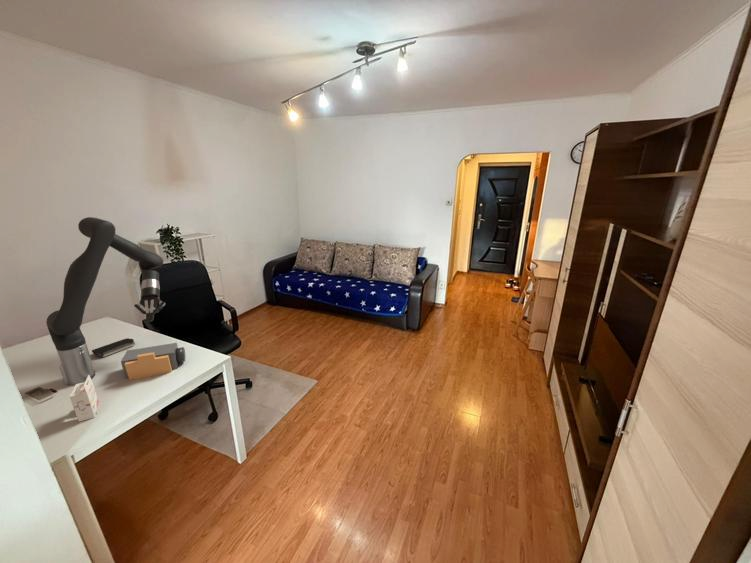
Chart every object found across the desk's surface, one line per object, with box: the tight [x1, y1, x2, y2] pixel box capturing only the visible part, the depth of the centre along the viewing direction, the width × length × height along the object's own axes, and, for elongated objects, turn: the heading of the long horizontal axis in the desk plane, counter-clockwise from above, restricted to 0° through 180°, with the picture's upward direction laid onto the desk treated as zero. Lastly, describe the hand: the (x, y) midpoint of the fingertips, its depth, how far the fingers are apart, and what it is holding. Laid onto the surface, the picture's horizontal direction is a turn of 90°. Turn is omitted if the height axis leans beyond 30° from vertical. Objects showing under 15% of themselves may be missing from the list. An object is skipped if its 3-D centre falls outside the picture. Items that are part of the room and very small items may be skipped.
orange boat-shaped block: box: [125, 352, 173, 381], centre depth 135 cm, size 16×2×12 cm, turn 116°
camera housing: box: [120, 342, 186, 379], centre depth 142 cm, size 23×10×10 cm, turn 116°
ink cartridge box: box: [69, 375, 100, 423], centre depth 113 cm, size 9×5×15 cm, turn 33°
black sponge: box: [91, 337, 136, 358], centre depth 157 cm, size 16×8×4 cm, turn 152°
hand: (150, 321), depth 144 cm, fingers closed
